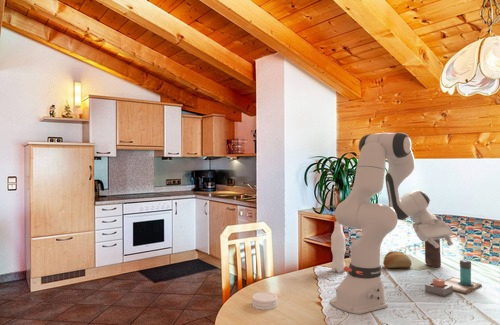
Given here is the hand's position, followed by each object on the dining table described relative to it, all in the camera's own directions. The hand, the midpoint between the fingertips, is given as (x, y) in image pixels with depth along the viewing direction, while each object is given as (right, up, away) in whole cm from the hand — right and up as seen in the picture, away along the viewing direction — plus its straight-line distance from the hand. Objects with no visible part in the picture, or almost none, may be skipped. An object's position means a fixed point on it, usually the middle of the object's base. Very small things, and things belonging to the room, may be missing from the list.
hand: (444, 246), depth 161 cm
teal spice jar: (+4, -15, -9) cm, 17 cm away
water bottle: (-46, -16, +14) cm, 51 cm away
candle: (+6, -16, +23) cm, 28 cm away
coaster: (-85, -17, -26) cm, 90 cm away
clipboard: (+2, -16, -8) cm, 18 cm away
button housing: (-11, -16, -15) cm, 24 cm away
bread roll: (-14, -16, +20) cm, 29 cm away
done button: (-11, -14, -15) cm, 23 cm away
